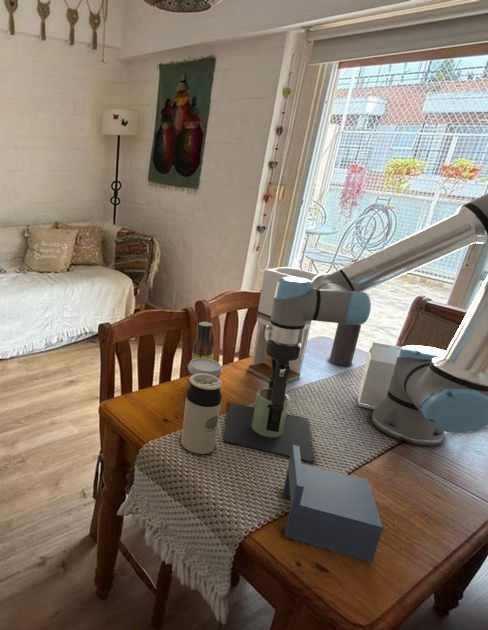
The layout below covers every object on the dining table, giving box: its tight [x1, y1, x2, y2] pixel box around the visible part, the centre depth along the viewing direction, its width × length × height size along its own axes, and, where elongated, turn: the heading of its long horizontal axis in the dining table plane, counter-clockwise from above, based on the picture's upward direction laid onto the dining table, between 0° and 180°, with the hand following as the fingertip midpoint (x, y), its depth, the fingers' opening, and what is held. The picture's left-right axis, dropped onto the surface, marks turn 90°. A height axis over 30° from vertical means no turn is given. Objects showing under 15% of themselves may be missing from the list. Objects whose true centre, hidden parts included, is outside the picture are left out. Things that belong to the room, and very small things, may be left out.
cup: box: [251, 387, 290, 437], centre depth 113 cm, size 8×8×10 cm
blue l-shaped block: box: [282, 445, 384, 564], centre depth 84 cm, size 14×13×12 cm
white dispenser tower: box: [247, 265, 321, 383], centre depth 140 cm, size 11×11×35 cm
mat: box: [223, 402, 314, 464], centre depth 115 cm, size 20×20×1 cm
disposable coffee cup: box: [187, 358, 223, 387], centre depth 127 cm, size 10×10×12 cm
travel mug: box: [180, 373, 223, 455], centre depth 106 cm, size 8×8×18 cm
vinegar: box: [329, 323, 362, 367], centre depth 152 cm, size 7×7×20 cm
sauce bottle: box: [191, 321, 214, 360], centre depth 137 cm, size 7×6×20 cm
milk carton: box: [357, 341, 403, 411], centre depth 125 cm, size 7×7×19 cm
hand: (271, 416), depth 114 cm, fingers open, 13 cm apart
